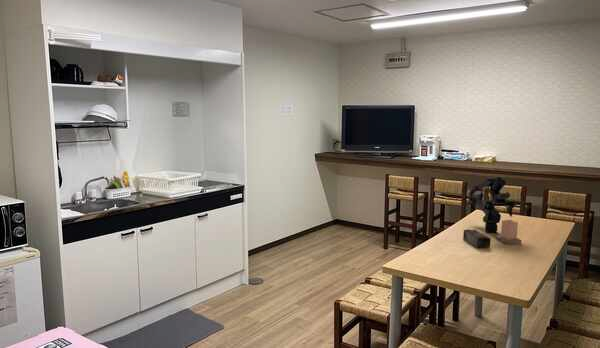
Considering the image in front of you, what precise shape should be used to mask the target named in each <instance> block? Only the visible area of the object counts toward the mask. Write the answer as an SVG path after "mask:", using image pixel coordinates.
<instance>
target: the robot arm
mask: <svg viewBox="0 0 600 348" xmlns="http://www.w3.org/2000/svg"><path fill="white" fill-rule="evenodd" d="M506 184H507V182H506V180H505V179H504V178H502V177H501V176H497V177H486V178H484V180H483V181H482V182H480V183H477V184H474V185H473V187H472V189H471V190H470V191H469V193H468V199H467V200H468V201H469V203H471V204H473V205H476V206H477V207H478V208H479V210H481V211H482V212H483V213H484V216H483V218H482V221H483V222H484V223H485V226H484V232H485V233H489V234H497V232H498V224H500V220H501V218H502V215H501V212H499V210H498V209H497V208H495V207H505V208H506V212H507V213H508V215H509V216H510V218H512V216H513V209H514V208H515V206H517V201H516V200H515V199H514V200H513V199H512V200H510V199H509V198H510V197H511V194H510V192H509V191H507V192H505V193H501V191H502V190H503V189H504V188H505V186H506ZM486 189H488V192H487V193H488V194H490V197H491V199H490V200H486V201H484V200H483V199H484V192H483V190H486ZM479 191H480V193H476V192H479ZM508 199H509V200H508ZM507 200H508V201H507ZM506 201H507V202H506Z"/></svg>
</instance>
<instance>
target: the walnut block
mask: <svg viewBox="0 0 600 348" xmlns="http://www.w3.org/2000/svg"><path fill="white" fill-rule="evenodd" d="M495 240H496V241H498V242H499V243H502V244H503V245H522V239H521V238H518V237H517V239H510V240H508V239H505V238H503V237H501V234H500V235H499V234H498V235H497V234H496V235H495Z"/></svg>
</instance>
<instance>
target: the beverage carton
mask: <svg viewBox="0 0 600 348" xmlns="http://www.w3.org/2000/svg"><path fill="white" fill-rule="evenodd" d="M462 239H463V240H464V241H466V242H467V243H468V244H470V245H472V246H473V247H475V248H476V249H490V248H491V239H492V238H490V237H489V236H487V235H485V234H484V233H481V232H480V231H478V230H476V229H469V228H467V229H463V235H462Z"/></svg>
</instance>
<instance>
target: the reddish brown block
mask: <svg viewBox="0 0 600 348" xmlns="http://www.w3.org/2000/svg"><path fill="white" fill-rule="evenodd" d="M518 225H519V222H518V221H515V220H513V219H504V220H501V228H500V229H501V230H500V235H501V237H503V238H505V239H508V240H510V239H517V238H518V227H519V226H518Z"/></svg>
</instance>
